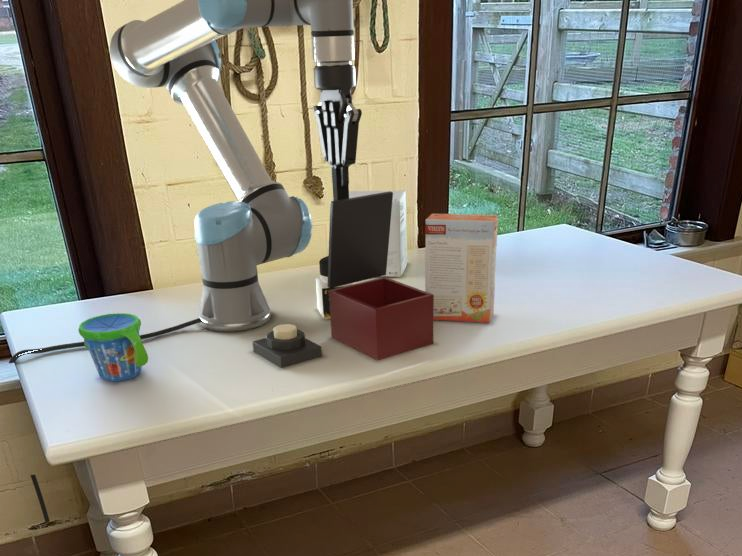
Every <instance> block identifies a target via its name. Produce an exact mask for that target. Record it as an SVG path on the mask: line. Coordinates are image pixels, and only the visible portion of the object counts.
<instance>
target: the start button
mask: <svg viewBox="0 0 742 556" xmlns="http://www.w3.org/2000/svg"><path fill="white" fill-rule="evenodd" d="M297 329H298V328H297V326H296V325H294V324H290V323H284V324H278V325H275V326H274V327H273V329H272V331H274V338H276V339H281V340H285V339H292V338H295V337H297Z"/></svg>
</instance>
